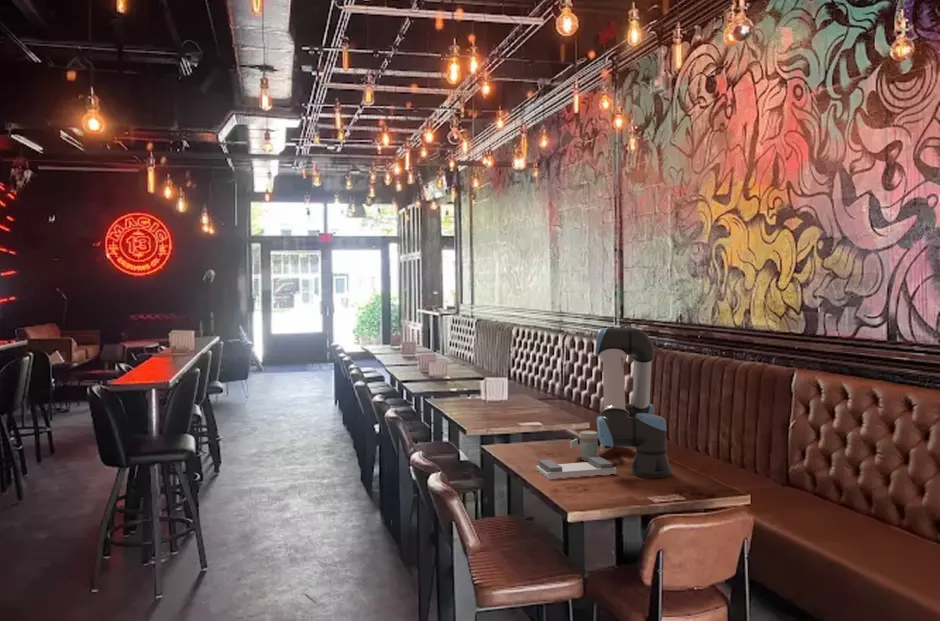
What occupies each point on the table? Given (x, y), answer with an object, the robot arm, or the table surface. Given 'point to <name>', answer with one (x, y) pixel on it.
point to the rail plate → (575, 468)
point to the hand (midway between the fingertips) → (585, 446)
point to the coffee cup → (588, 444)
